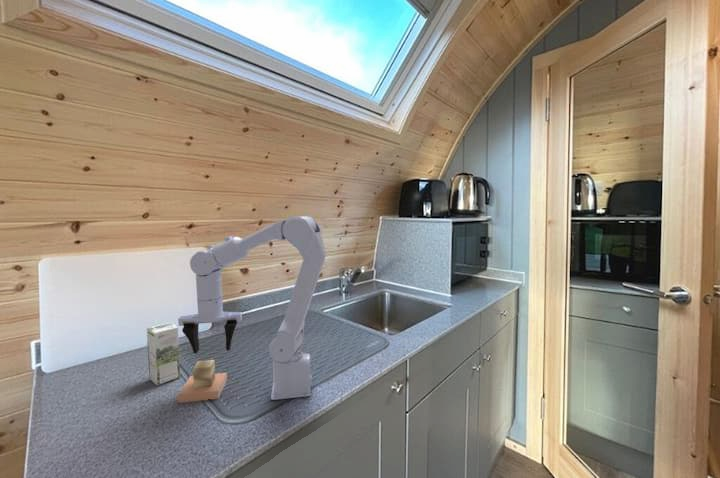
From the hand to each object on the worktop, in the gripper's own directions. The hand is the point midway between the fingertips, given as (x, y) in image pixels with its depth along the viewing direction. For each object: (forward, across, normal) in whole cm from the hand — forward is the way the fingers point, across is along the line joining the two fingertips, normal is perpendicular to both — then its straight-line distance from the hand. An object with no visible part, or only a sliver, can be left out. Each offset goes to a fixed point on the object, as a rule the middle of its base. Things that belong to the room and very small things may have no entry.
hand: (212, 350), depth 82 cm
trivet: (+10, +2, +1) cm, 11 cm away
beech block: (+8, +2, +1) cm, 8 cm away
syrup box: (+10, +14, -7) cm, 19 cm away
